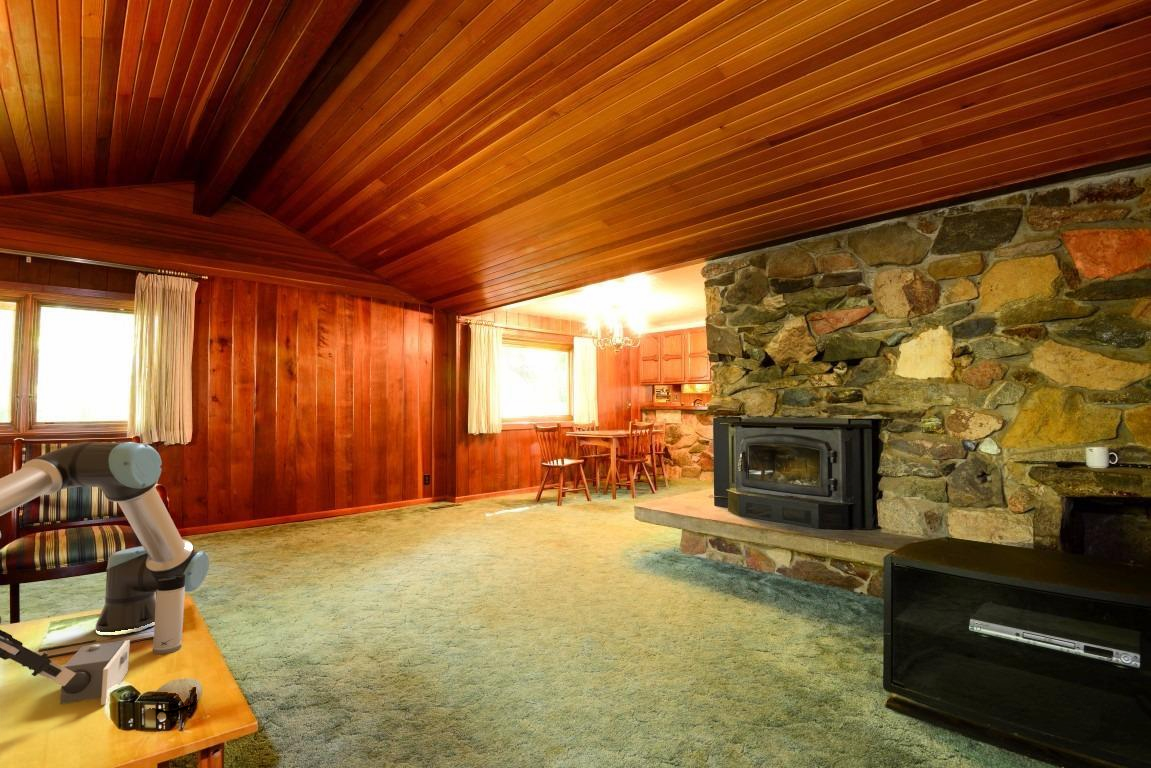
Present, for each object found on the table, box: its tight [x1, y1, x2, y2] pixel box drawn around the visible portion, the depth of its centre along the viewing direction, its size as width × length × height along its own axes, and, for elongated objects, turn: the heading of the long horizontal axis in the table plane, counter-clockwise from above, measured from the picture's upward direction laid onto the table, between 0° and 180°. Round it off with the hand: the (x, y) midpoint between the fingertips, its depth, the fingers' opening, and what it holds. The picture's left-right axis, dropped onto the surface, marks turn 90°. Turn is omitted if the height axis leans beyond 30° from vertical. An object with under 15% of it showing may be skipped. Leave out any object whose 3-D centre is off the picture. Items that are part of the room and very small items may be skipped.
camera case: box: [59, 640, 125, 705], centre depth 127 cm, size 14×8×9 cm, turn 27°
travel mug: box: [152, 574, 186, 655], centre depth 149 cm, size 6×7×20 cm
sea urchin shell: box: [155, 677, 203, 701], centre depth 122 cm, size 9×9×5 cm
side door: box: [100, 639, 131, 706], centre depth 127 cm, size 17×1×8 cm, turn 27°
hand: (68, 678), depth 116 cm, fingers closed
